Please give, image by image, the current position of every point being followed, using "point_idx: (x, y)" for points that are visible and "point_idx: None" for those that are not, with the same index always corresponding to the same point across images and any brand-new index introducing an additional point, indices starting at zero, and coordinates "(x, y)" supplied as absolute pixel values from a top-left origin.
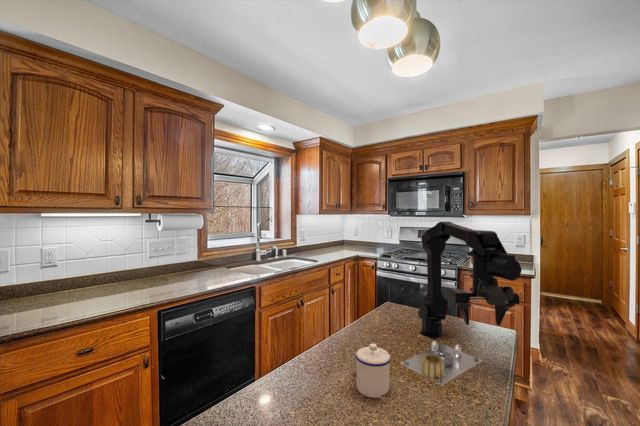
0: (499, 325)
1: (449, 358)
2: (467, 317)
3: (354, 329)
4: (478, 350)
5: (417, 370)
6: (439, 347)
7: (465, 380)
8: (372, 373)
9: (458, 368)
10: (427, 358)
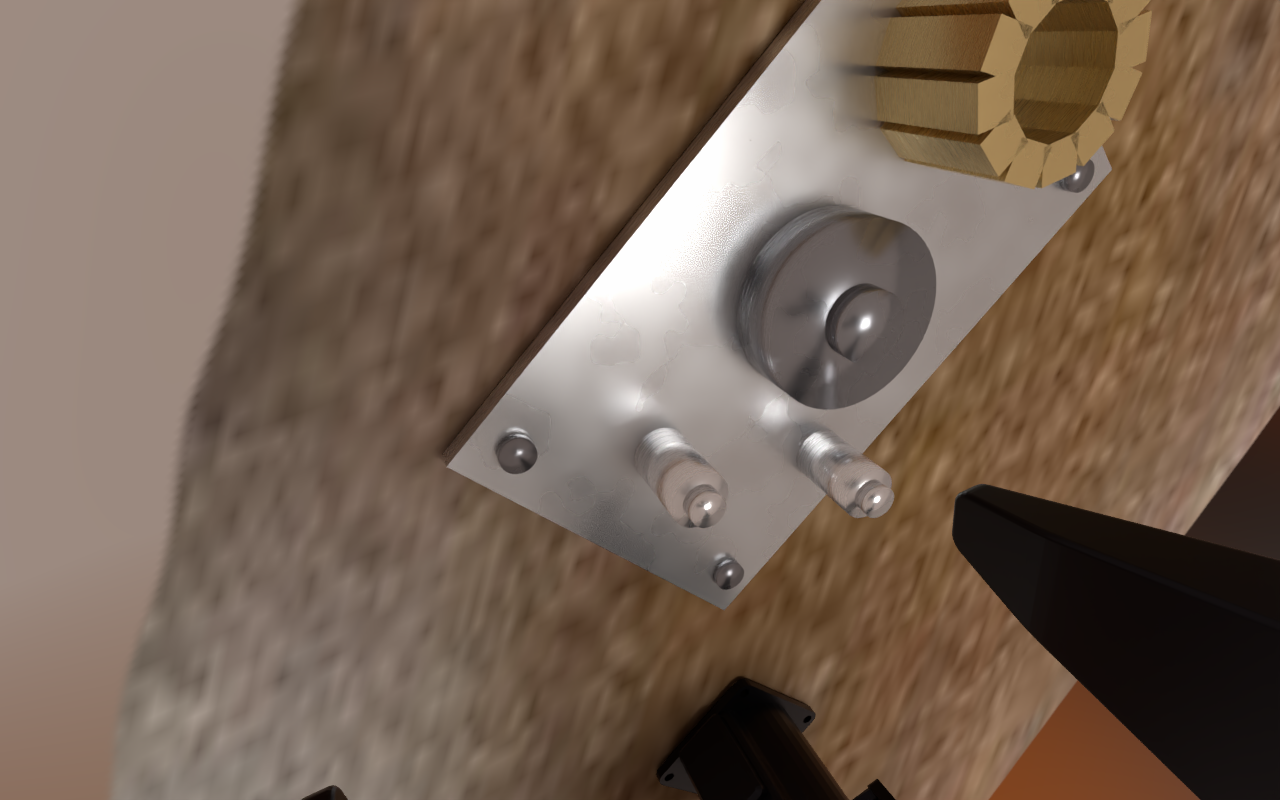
0: (307, 797)
1: (813, 278)
2: (1171, 555)
3: None
4: (431, 670)
5: None
6: (759, 544)
7: (696, 45)
8: None
9: (720, 219)
10: (1059, 124)
